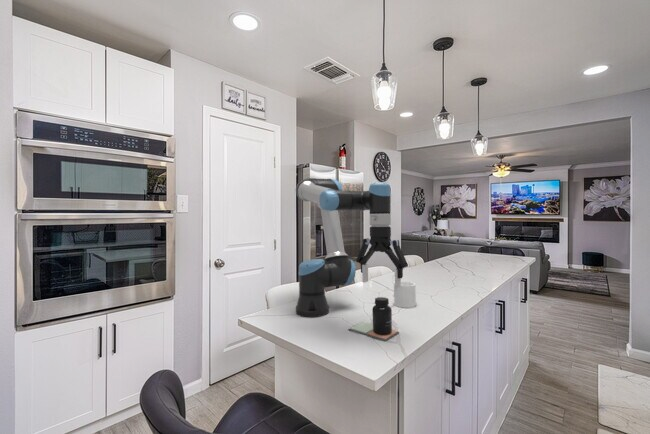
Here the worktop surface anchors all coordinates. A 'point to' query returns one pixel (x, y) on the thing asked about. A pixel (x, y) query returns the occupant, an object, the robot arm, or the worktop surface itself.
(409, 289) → the mug
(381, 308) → the supplement bottle
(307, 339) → the worktop surface
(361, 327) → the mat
